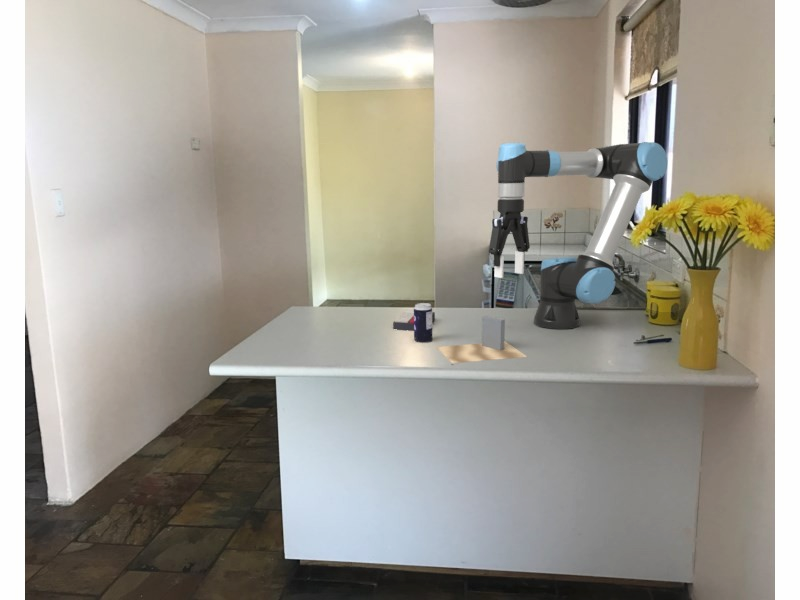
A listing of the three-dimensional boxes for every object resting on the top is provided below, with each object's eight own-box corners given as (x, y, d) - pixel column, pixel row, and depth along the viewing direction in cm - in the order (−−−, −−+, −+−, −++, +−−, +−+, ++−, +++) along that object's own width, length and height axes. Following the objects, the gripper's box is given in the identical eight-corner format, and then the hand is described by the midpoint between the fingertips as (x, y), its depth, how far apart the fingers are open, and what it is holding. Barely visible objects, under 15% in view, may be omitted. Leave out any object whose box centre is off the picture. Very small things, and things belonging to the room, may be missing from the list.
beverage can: (426, 338, 187) (426, 302, 184) (435, 343, 182) (435, 305, 179) (410, 341, 184) (410, 304, 182) (419, 345, 179) (419, 307, 177)
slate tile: (485, 344, 177) (486, 315, 175) (504, 349, 172) (504, 319, 170) (481, 345, 176) (482, 316, 174) (500, 350, 171) (500, 320, 169)
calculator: (392, 320, 198) (405, 308, 212) (393, 332, 199) (405, 319, 213) (424, 322, 195) (434, 309, 208) (424, 334, 196) (435, 321, 210)
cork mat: (505, 343, 180) (505, 341, 180) (527, 358, 165) (527, 356, 165) (436, 348, 176) (436, 346, 175) (451, 365, 160) (451, 363, 160)
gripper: (522, 196, 179) (521, 269, 184) (476, 199, 165) (475, 278, 170) (543, 197, 174) (541, 272, 178) (497, 200, 160) (495, 281, 164)
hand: (509, 275), depth 174 cm, fingers open, 9 cm apart
